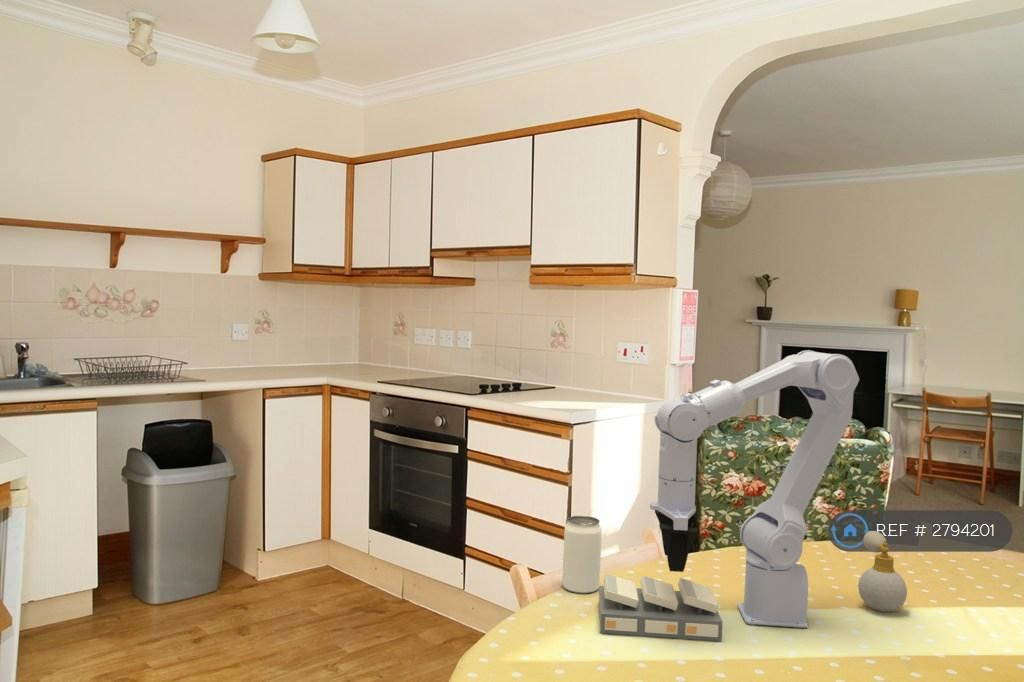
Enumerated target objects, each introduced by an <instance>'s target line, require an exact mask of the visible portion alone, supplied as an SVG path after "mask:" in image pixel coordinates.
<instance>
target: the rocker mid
mask: <svg viewBox="0 0 1024 682" xmlns="http://www.w3.org/2000/svg"><path fill="white" fill-rule="evenodd" d="M640 587H641V588H640V589H642V592H643V597H644V601H647V602H650V603H653V604H657V605H660V606H663V607H666V608H669V609H673V610H676V609H677V606H678V601H677V597H676V594H675V591H676V590H675V589H674V586H673V584H671V583H668V582H665V581H662V580H658V579H655V578H652V577H648V576H645V575H642V576H641V580H640Z"/></svg>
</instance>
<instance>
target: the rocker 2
mask: <svg viewBox="0 0 1024 682" xmlns="http://www.w3.org/2000/svg"><path fill="white" fill-rule="evenodd" d="M677 587H678V589H679V590H678V591H680V593H681V596H682V599H683V602H684V603H685V604H688V605H691V606H694V607H698V608H701V609H704V610H707V611H711V612H714V613H716V612H717V610H718V608H719V604H718V602H717V600H716V597H715V595H714V593H713V591H712V589H711V587H710V586H707V585H704V584H702V583H698V582H694V581H692V580H688V579H685V578H682V577H679V579H678V583H677Z"/></svg>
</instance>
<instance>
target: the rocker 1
mask: <svg viewBox="0 0 1024 682" xmlns="http://www.w3.org/2000/svg"><path fill="white" fill-rule="evenodd" d="M602 581H603V586H604V595H605V598H606V599H609V600H612V601H616V602H619V603H622V604H625V605H628V606H632V607H635V608H636V607H637V604H638V601H639V600H638V595H637V590H636V588H637V586H636V582H634V581H632V580H629V579H625V578H623V577H619V576H616V575H612V574H609V573H604V577H603V580H602Z"/></svg>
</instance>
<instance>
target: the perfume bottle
mask: <svg viewBox="0 0 1024 682" xmlns="http://www.w3.org/2000/svg"><path fill="white" fill-rule="evenodd" d="M862 540H863V545H864V546H865V547H866V549H868V550H869V551H870V552H873V553H876V554H875V555H874V563H873V565H872V567H869V568H867V569H866V570H865V571H863V573H862V574H861V576H860V577H859V579H858V585H857V587H858V588H857V589H858V593H859V596H860V598H861V600H862V601H863V602H864V604H865V605H866V606H867V607H869V608H870V609H872V610H874V609H875V611H877V610H878V611H877V612H882V611H883V612H884V613H890V612H891V613H892V612H894V611H898V610H899V609H900V608H901V607H902V606H903V605H904V603H905V601H906V600H907V597H908V596H907V595H908V590H907V589H908V588H907V585H906V582H905V580H904V578H903V577H902V576H901V574H900V573H898V572H897V571H896V570H895V568H894V560H895V558H894V557H893V556H891V555H889V554H888V553H889V551H890V549H889V547H888V543H887V542H888V541H887V539H886V537H885V536H884V535H883V534H882V533H881V532H879V531H876V530H870V531H868V532H866V533H865V534H864V536H863V539H862ZM877 553H879V554H877Z"/></svg>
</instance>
